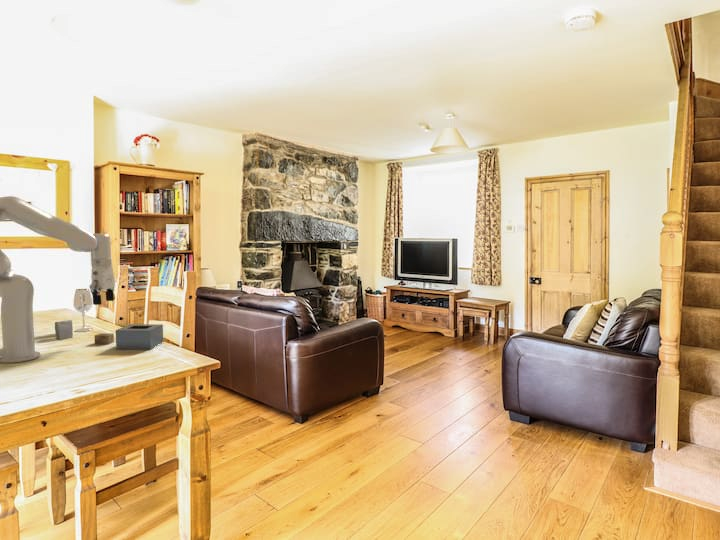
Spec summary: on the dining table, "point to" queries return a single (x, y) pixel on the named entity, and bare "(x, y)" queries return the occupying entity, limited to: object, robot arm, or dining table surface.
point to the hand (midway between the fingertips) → (103, 302)
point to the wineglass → (82, 305)
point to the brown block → (104, 338)
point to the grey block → (64, 329)
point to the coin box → (139, 336)
